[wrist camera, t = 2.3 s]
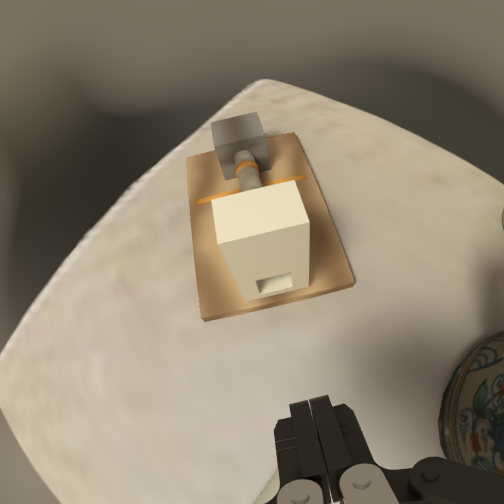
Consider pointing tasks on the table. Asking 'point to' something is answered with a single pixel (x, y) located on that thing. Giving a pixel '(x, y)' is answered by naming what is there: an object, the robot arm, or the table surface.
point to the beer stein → (476, 409)
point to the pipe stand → (248, 178)
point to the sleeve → (264, 239)
